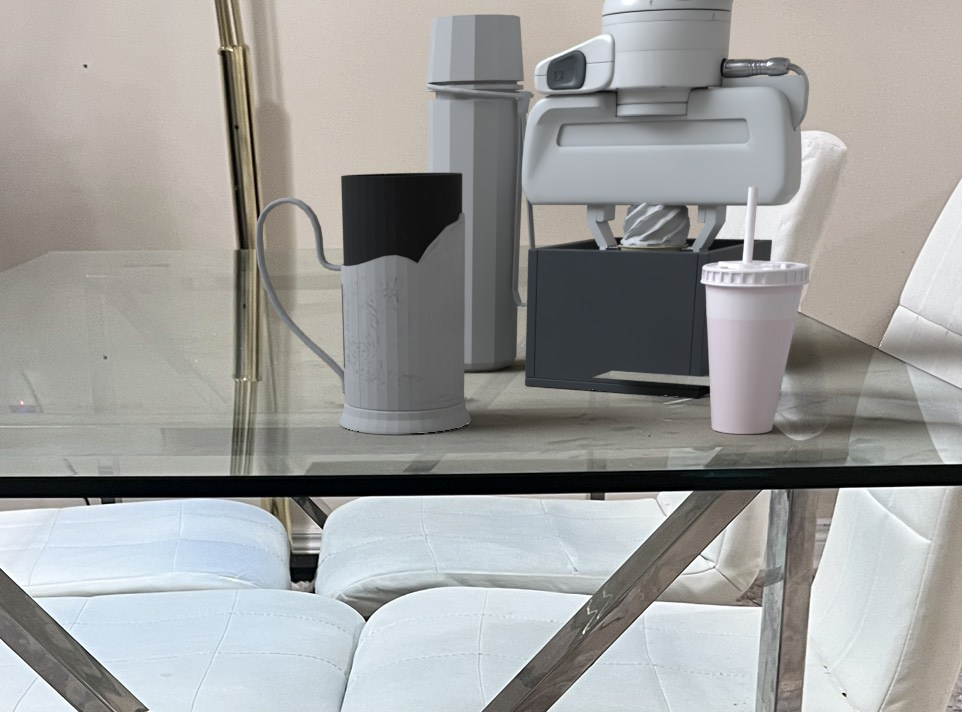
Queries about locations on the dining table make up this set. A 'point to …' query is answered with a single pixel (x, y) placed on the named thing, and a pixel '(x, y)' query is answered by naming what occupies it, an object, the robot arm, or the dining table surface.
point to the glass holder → (396, 300)
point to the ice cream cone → (655, 228)
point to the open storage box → (621, 315)
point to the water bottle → (483, 168)
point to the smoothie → (749, 333)
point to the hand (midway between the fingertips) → (651, 272)
